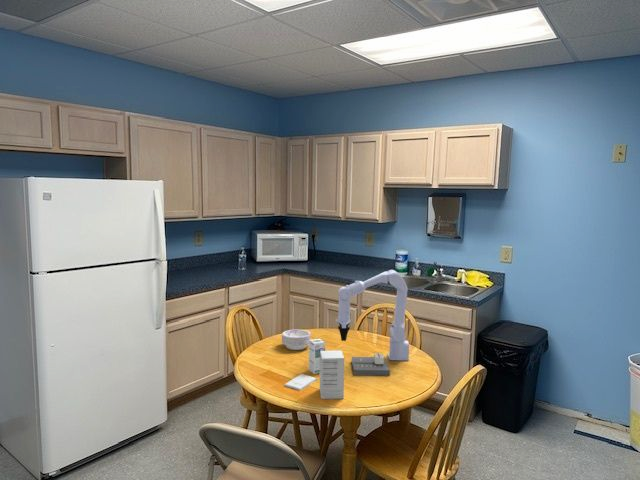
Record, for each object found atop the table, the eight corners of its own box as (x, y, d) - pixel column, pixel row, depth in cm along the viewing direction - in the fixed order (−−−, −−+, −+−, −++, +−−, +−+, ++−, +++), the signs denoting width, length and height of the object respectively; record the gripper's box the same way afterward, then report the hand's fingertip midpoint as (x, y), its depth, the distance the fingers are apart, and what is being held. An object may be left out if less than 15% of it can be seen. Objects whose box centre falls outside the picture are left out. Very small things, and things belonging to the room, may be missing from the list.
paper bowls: (294, 340, 245) (294, 326, 245) (316, 346, 237) (316, 332, 236) (275, 348, 233) (275, 333, 232) (298, 354, 224) (298, 339, 223)
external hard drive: (316, 381, 194) (300, 392, 184) (300, 377, 199) (284, 387, 188) (316, 377, 194) (300, 388, 184) (300, 373, 198) (284, 383, 188)
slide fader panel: (384, 362, 216) (384, 356, 216) (389, 375, 200) (389, 370, 200) (351, 361, 216) (351, 356, 216) (354, 375, 200) (354, 369, 200)
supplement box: (344, 399, 177) (344, 358, 175) (320, 399, 176) (321, 358, 174) (340, 388, 186) (341, 349, 185) (319, 388, 186) (319, 350, 184)
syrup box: (314, 374, 200) (314, 343, 199) (308, 369, 205) (308, 339, 204) (325, 372, 203) (325, 341, 201) (319, 367, 208) (319, 337, 206)
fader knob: (382, 360, 210) (382, 353, 210) (383, 364, 205) (383, 357, 205) (373, 360, 210) (373, 353, 210) (375, 364, 205) (375, 357, 205)
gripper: (336, 307, 226) (335, 333, 228) (335, 315, 212) (335, 342, 213) (350, 307, 226) (349, 333, 227) (350, 315, 211) (350, 343, 213)
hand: (343, 338), depth 220 cm, fingers open, 7 cm apart
